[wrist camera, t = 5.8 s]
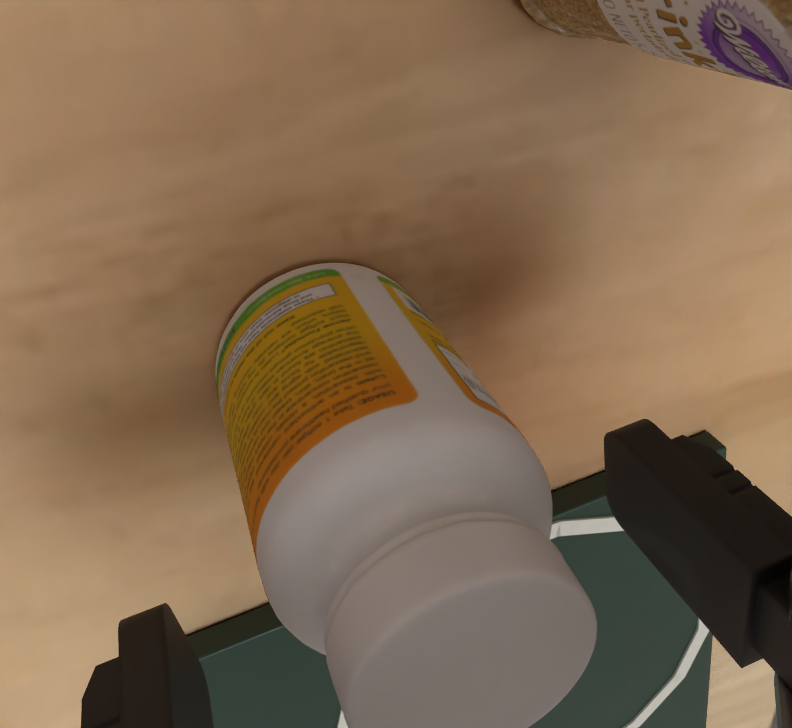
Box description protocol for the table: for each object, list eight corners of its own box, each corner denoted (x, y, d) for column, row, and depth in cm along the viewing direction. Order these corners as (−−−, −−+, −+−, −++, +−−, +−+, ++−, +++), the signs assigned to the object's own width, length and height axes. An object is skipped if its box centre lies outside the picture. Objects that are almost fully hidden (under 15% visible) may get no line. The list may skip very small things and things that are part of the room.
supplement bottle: (195, 440, 19) (257, 822, 11) (235, 238, 17) (350, 534, 9) (391, 451, 21) (562, 776, 13) (450, 274, 19) (699, 536, 11)
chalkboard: (707, 429, 25) (730, 449, 24) (690, 737, 35) (705, 759, 34) (139, 653, 22) (141, 685, 21) (306, 917, 32) (312, 946, 31)
